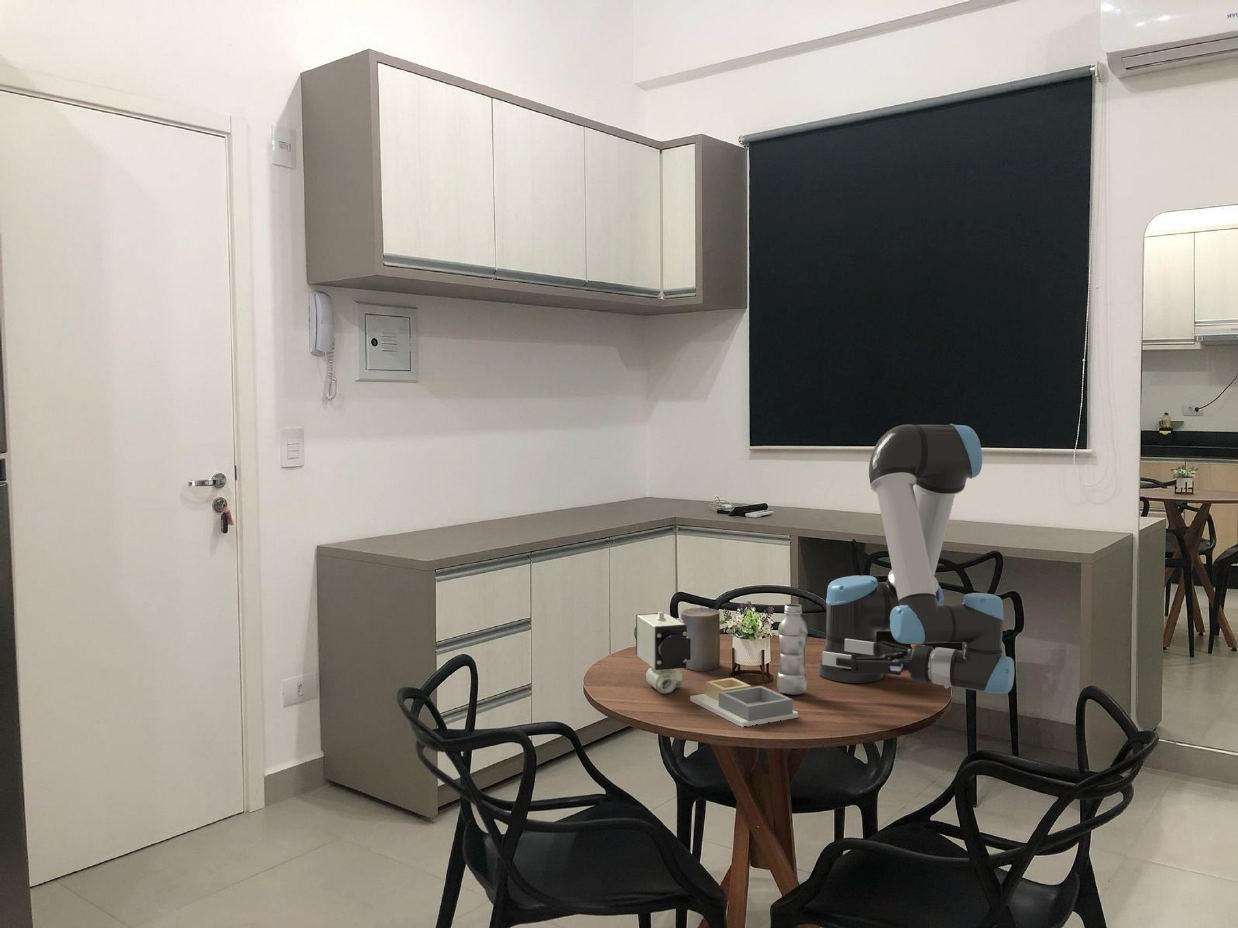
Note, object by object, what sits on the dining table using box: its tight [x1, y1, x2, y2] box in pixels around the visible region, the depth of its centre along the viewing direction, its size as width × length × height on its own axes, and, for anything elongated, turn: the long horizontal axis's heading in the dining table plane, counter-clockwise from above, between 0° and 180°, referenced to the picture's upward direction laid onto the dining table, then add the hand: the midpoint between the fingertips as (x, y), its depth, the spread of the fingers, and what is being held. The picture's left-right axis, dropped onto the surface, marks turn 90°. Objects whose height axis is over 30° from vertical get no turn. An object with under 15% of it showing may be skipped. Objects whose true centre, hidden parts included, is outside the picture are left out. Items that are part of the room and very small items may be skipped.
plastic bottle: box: [776, 603, 809, 696], centre depth 220 cm, size 6×7×20 cm
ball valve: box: [633, 611, 691, 695], centre depth 223 cm, size 18×8×18 cm, turn 18°
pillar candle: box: [679, 607, 721, 672], centre depth 243 cm, size 10×10×15 cm
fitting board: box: [689, 677, 799, 728], centre depth 210 cm, size 14×20×4 cm
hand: (834, 651), depth 215 cm, fingers open, 13 cm apart
